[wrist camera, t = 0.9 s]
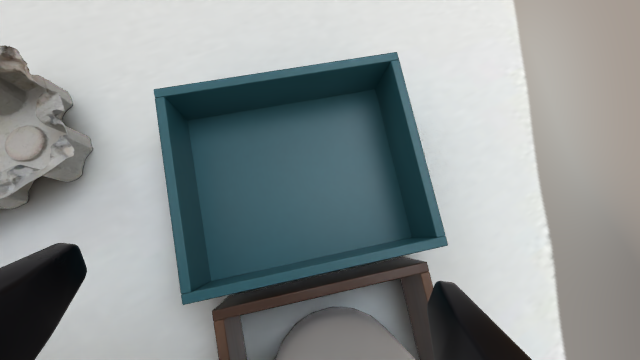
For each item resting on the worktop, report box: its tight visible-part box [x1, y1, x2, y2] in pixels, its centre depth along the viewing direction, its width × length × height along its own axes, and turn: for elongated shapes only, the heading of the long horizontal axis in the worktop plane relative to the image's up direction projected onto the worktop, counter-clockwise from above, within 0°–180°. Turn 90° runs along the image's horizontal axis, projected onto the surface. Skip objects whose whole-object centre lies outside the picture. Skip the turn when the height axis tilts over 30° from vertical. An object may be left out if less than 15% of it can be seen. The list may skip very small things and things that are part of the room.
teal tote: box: [154, 52, 448, 305], centre depth 18 cm, size 11×13×4 cm
